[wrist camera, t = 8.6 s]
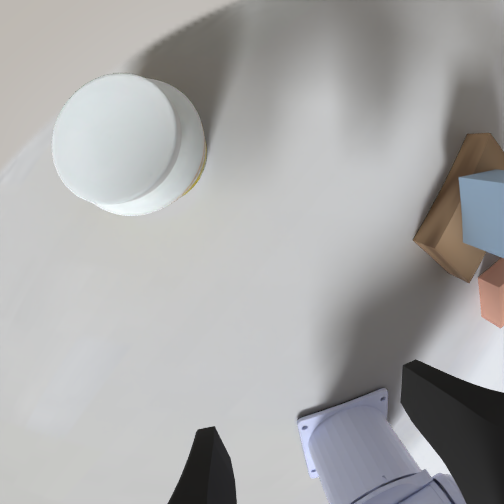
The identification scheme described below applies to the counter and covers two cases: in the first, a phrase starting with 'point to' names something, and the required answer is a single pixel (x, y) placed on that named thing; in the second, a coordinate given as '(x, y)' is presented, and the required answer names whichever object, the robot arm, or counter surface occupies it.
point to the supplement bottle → (129, 144)
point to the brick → (493, 293)
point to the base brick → (458, 209)
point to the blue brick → (483, 210)
